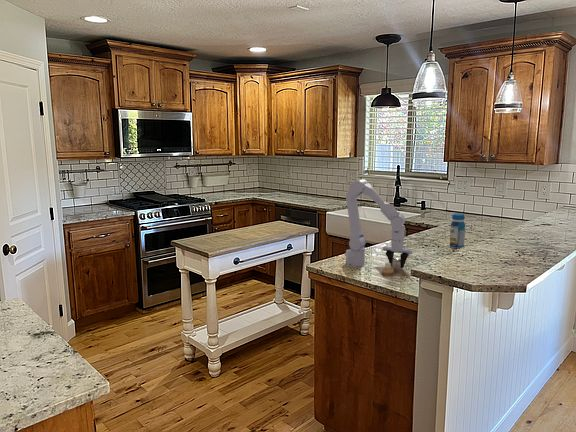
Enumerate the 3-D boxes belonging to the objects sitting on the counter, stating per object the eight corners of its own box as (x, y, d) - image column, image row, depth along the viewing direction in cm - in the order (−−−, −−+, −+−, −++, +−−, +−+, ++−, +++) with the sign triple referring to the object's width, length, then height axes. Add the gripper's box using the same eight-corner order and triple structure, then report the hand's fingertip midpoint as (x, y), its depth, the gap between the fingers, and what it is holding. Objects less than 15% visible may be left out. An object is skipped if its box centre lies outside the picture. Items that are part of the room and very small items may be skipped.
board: (383, 279, 206) (383, 276, 206) (374, 269, 223) (374, 266, 223) (411, 278, 207) (411, 275, 207) (400, 268, 224) (400, 265, 223)
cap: (393, 269, 217) (393, 260, 216) (390, 267, 222) (390, 257, 221) (403, 269, 217) (403, 260, 216) (400, 266, 222) (400, 257, 221)
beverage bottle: (464, 249, 259) (466, 215, 256) (449, 248, 262) (450, 215, 259) (464, 246, 267) (465, 213, 264) (449, 245, 270) (450, 212, 267)
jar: (383, 274, 209) (383, 264, 208) (380, 271, 214) (381, 262, 213) (394, 274, 209) (395, 264, 208) (391, 271, 214) (391, 261, 214)
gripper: (415, 239, 216) (414, 267, 218) (387, 236, 224) (386, 262, 227) (409, 242, 210) (408, 270, 212) (380, 238, 219) (380, 265, 221)
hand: (396, 266), depth 219 cm, fingers closed on cap, 5 cm apart
